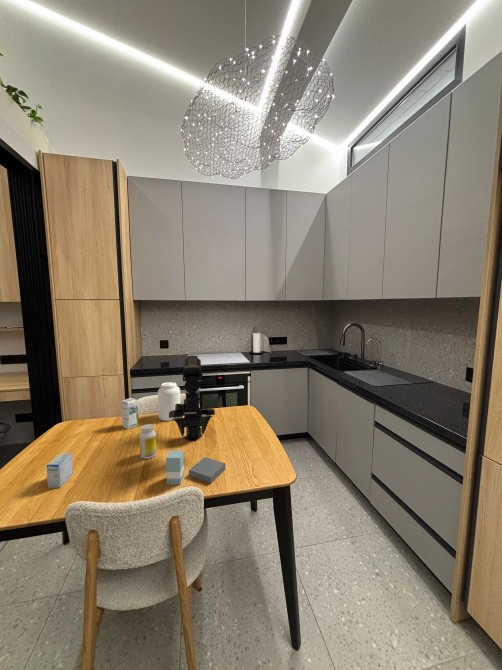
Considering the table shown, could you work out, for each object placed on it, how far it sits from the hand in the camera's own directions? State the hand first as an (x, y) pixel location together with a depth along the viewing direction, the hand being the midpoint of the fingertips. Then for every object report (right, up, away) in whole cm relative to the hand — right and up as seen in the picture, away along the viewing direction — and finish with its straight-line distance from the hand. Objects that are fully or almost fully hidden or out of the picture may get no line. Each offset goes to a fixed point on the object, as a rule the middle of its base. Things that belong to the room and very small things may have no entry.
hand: (193, 435), depth 111 cm
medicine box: (-46, -13, -11) cm, 49 cm away
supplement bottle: (-21, -11, +6) cm, 24 cm away
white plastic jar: (-24, -7, +48) cm, 54 cm away
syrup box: (-41, -8, +35) cm, 55 cm away
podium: (+7, -12, -6) cm, 15 cm away
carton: (-4, -13, -10) cm, 17 cm away
